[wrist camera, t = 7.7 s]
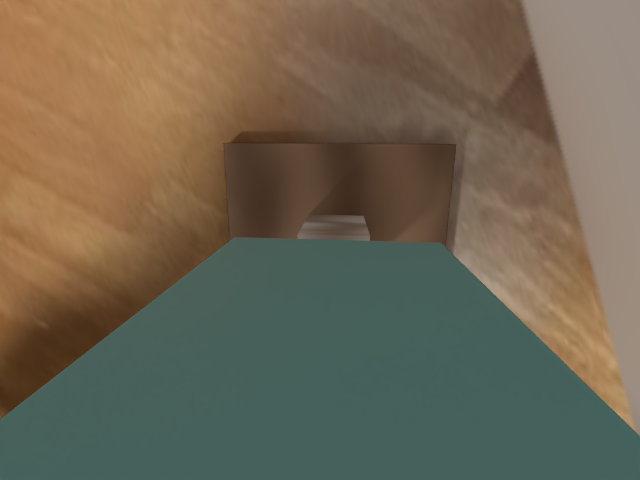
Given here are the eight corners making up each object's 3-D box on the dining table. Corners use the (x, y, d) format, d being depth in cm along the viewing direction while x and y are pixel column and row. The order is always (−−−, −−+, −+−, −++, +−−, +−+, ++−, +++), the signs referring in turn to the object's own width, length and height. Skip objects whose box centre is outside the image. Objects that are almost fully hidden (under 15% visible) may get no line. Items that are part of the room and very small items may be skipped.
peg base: (239, 315, 28) (205, 368, 21) (229, 143, 24) (183, 139, 17) (431, 322, 27) (462, 382, 20) (450, 144, 23) (496, 141, 16)
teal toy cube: (244, 405, 13) (54, 885, 5) (233, 237, 11) (-118, 510, 3) (421, 416, 13) (582, 977, 4) (440, 242, 11) (805, 597, 2)
